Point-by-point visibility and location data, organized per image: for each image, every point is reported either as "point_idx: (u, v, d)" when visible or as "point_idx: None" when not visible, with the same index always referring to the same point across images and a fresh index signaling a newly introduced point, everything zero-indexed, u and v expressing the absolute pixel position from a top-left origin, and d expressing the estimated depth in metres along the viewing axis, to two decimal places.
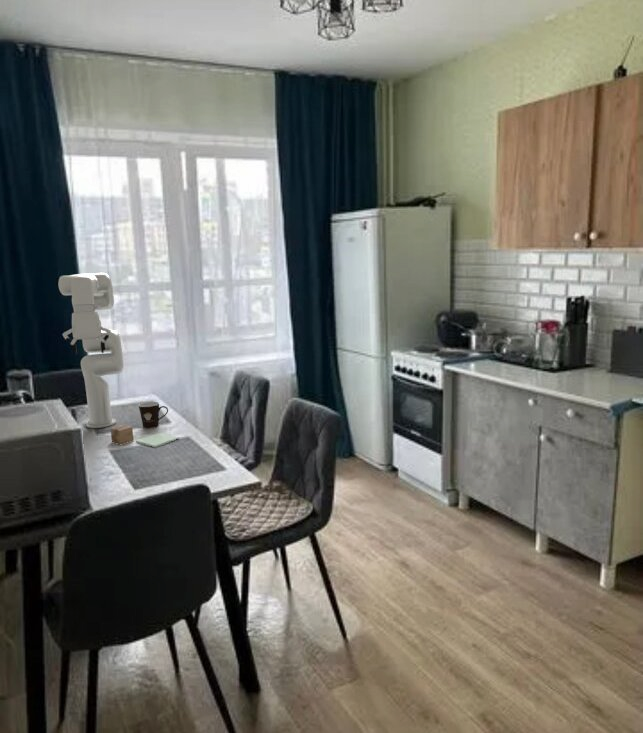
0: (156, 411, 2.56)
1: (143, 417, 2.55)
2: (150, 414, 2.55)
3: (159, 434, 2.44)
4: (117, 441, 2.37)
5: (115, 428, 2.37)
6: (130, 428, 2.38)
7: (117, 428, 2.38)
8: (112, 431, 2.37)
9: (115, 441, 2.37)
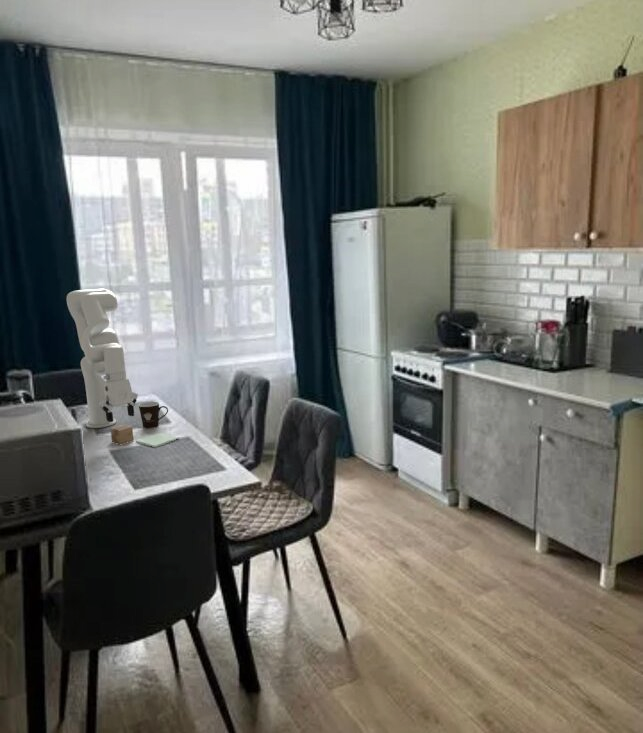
0: (156, 411, 2.56)
1: (143, 417, 2.55)
2: (150, 414, 2.55)
3: (159, 434, 2.44)
4: (117, 441, 2.37)
5: (115, 428, 2.37)
6: (130, 428, 2.38)
7: (117, 428, 2.38)
8: (112, 431, 2.37)
9: (115, 441, 2.37)
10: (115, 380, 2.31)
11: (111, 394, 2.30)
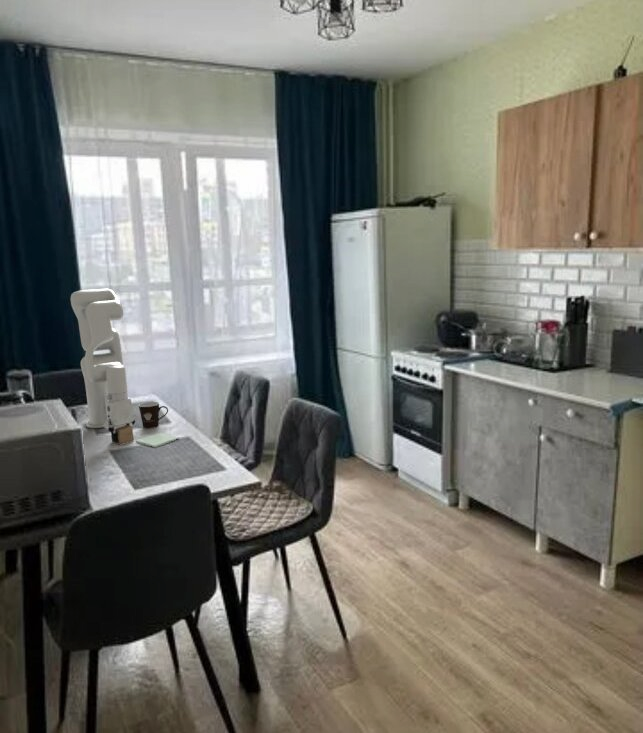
0: (156, 411, 2.56)
1: (143, 417, 2.55)
2: (150, 414, 2.55)
3: (159, 434, 2.44)
4: None
5: None
6: (130, 428, 2.38)
7: (117, 427, 2.38)
8: None
9: None
10: (117, 400, 2.33)
11: (113, 414, 2.32)
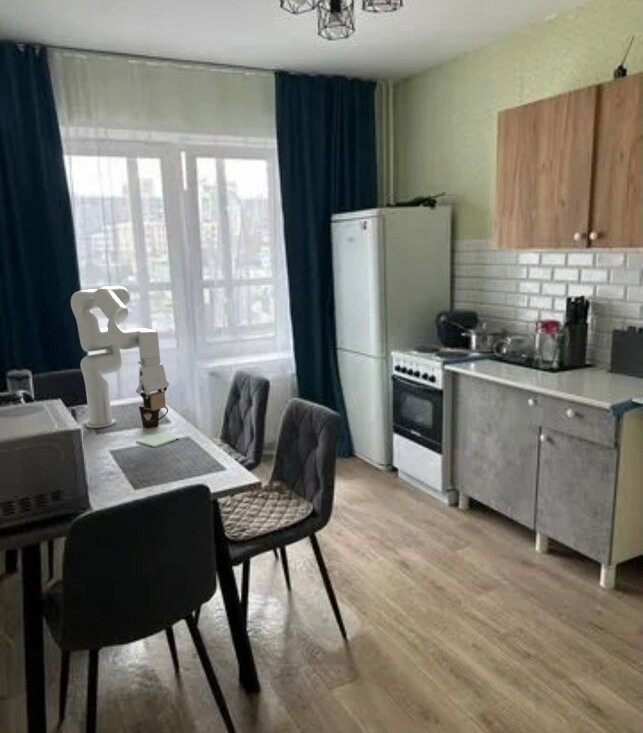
0: (156, 411, 2.56)
1: (143, 417, 2.55)
2: (150, 414, 2.55)
3: (159, 434, 2.44)
4: None
5: None
6: (162, 394, 2.35)
7: None
8: None
9: None
10: (150, 365, 2.29)
11: (146, 379, 2.29)
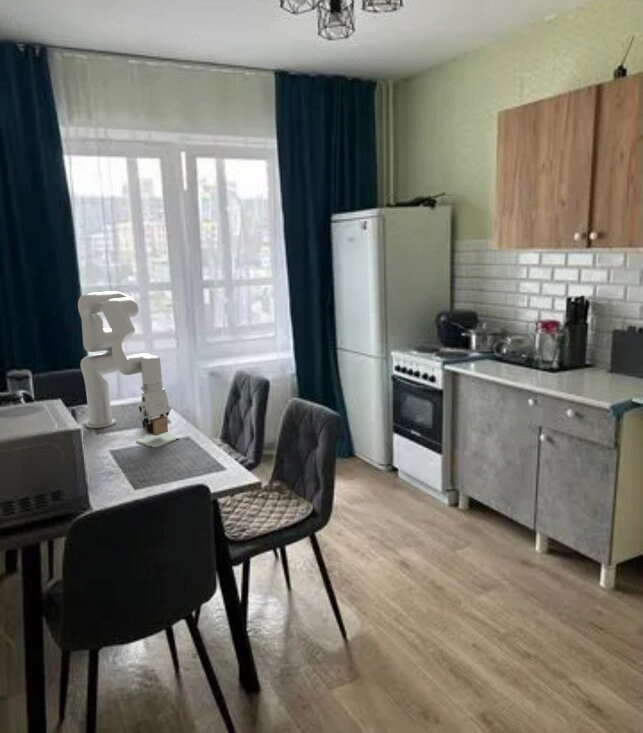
0: None
1: None
2: None
3: None
4: None
5: None
6: (165, 419, 2.37)
7: None
8: None
9: None
10: (152, 391, 2.31)
11: (148, 405, 2.31)
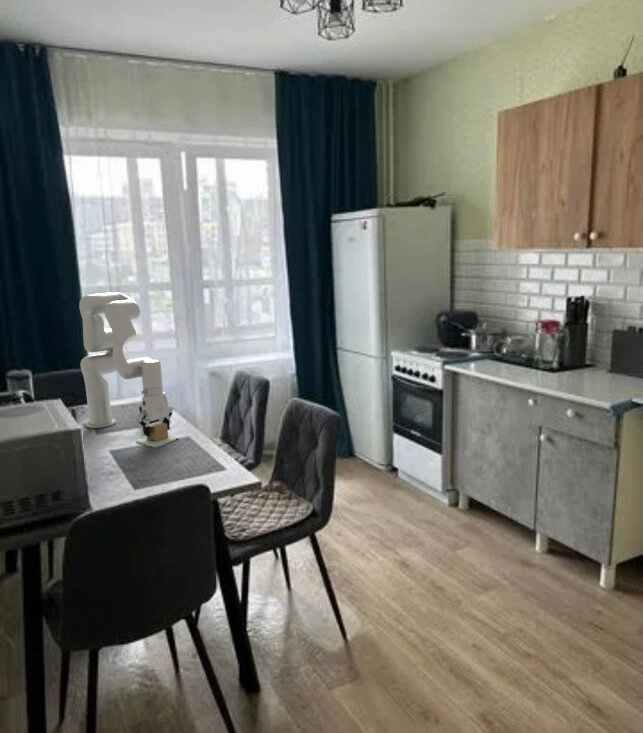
0: None
1: None
2: None
3: None
4: (152, 438, 2.36)
5: (150, 425, 2.36)
6: (165, 425, 2.38)
7: (152, 425, 2.37)
8: None
9: (150, 438, 2.36)
10: (153, 395, 2.31)
11: (149, 409, 2.31)
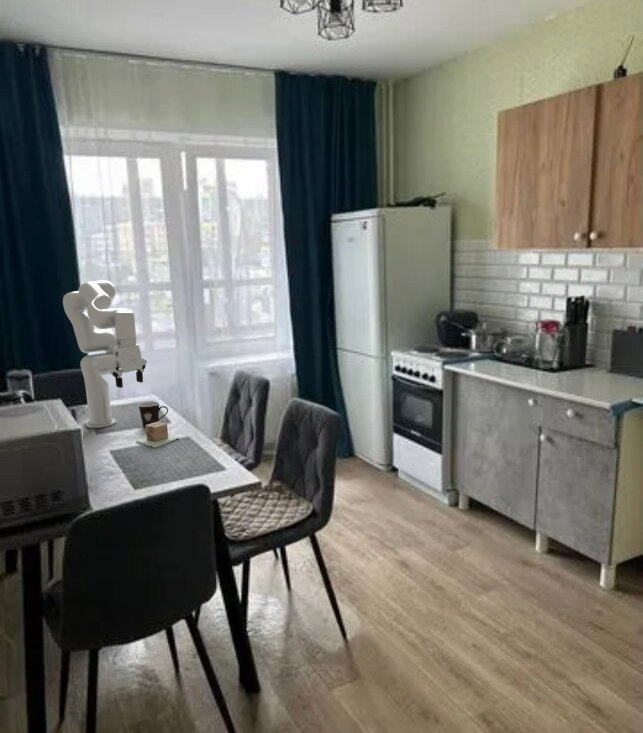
0: (156, 411, 2.56)
1: (143, 417, 2.55)
2: (150, 414, 2.55)
3: None
4: (152, 438, 2.36)
5: (150, 425, 2.36)
6: (165, 425, 2.38)
7: (152, 425, 2.37)
8: (147, 428, 2.36)
9: (150, 438, 2.36)
10: (126, 346, 2.29)
11: (121, 360, 2.28)
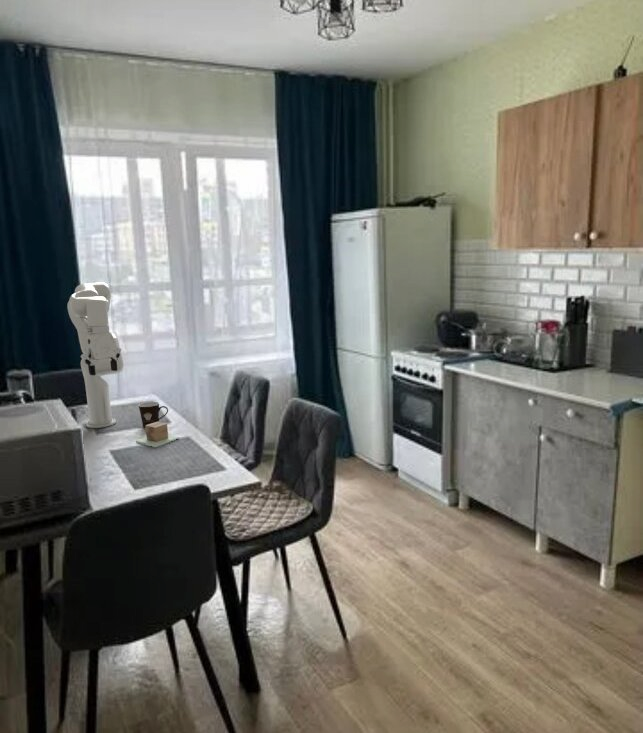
0: (156, 411, 2.56)
1: (143, 417, 2.55)
2: (150, 414, 2.55)
3: None
4: (152, 438, 2.36)
5: (150, 425, 2.36)
6: (165, 425, 2.38)
7: (152, 425, 2.37)
8: (147, 428, 2.36)
9: (150, 438, 2.36)
10: (98, 333, 2.29)
11: (93, 347, 2.28)
